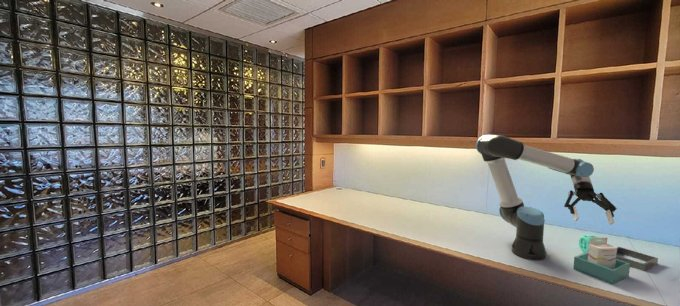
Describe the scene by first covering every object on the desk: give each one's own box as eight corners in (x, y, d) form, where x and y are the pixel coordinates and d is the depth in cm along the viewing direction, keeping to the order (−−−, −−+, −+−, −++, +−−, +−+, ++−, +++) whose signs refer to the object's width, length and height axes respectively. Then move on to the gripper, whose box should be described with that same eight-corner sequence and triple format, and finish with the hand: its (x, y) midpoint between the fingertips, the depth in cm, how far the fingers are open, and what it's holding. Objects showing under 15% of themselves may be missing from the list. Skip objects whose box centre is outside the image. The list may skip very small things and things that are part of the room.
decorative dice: (606, 256, 140) (607, 241, 139) (588, 255, 141) (589, 240, 140) (594, 249, 148) (596, 235, 147) (578, 248, 149) (579, 234, 148)
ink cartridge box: (596, 273, 122) (599, 241, 121) (586, 268, 127) (588, 237, 126) (615, 273, 123) (618, 241, 121) (604, 267, 127) (607, 236, 126)
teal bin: (573, 269, 128) (574, 256, 128) (589, 262, 134) (590, 250, 134) (613, 284, 116) (614, 270, 115) (628, 276, 122) (629, 263, 121)
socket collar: (604, 258, 138) (605, 252, 138) (618, 252, 144) (618, 246, 144) (644, 271, 126) (644, 264, 125) (657, 264, 131) (658, 258, 131)
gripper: (609, 190, 145) (623, 228, 132) (551, 186, 153) (560, 221, 141) (616, 182, 139) (631, 221, 127) (556, 179, 148) (565, 214, 135)
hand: (594, 221), depth 134 cm, fingers open, 13 cm apart
